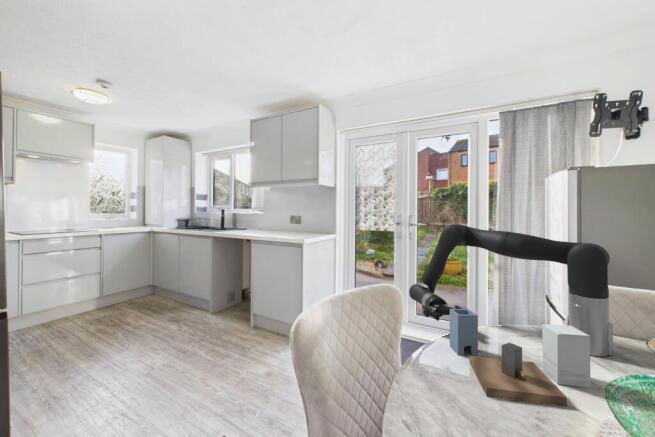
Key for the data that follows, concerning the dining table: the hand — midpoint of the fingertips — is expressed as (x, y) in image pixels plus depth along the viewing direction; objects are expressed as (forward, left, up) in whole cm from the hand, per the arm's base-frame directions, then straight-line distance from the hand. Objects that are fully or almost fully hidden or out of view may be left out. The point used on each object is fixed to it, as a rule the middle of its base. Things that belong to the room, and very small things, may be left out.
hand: (450, 317), depth 100 cm
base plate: (-10, +25, -7) cm, 28 cm away
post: (-10, +25, -5) cm, 28 cm away
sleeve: (-2, +9, -7) cm, 12 cm away
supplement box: (-24, +20, -7) cm, 32 cm away
